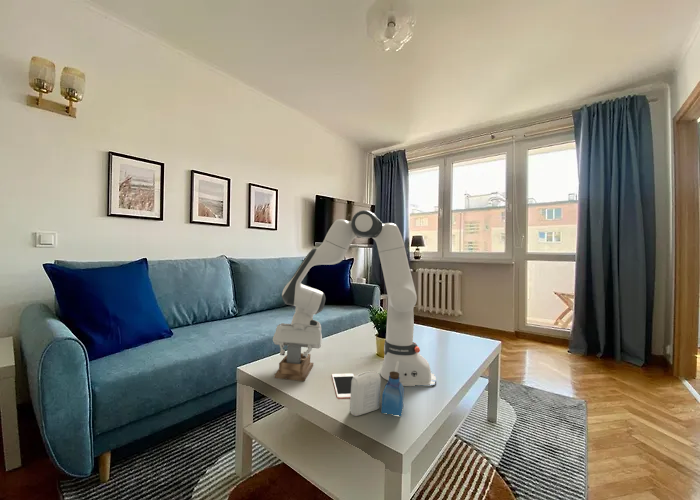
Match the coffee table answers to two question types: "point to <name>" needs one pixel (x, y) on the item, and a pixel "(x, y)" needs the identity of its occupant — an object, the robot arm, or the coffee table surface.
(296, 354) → the charcoal card
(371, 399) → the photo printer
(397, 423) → the coffee table surface
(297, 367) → the box
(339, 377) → the cell phone
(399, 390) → the perfume bottle
